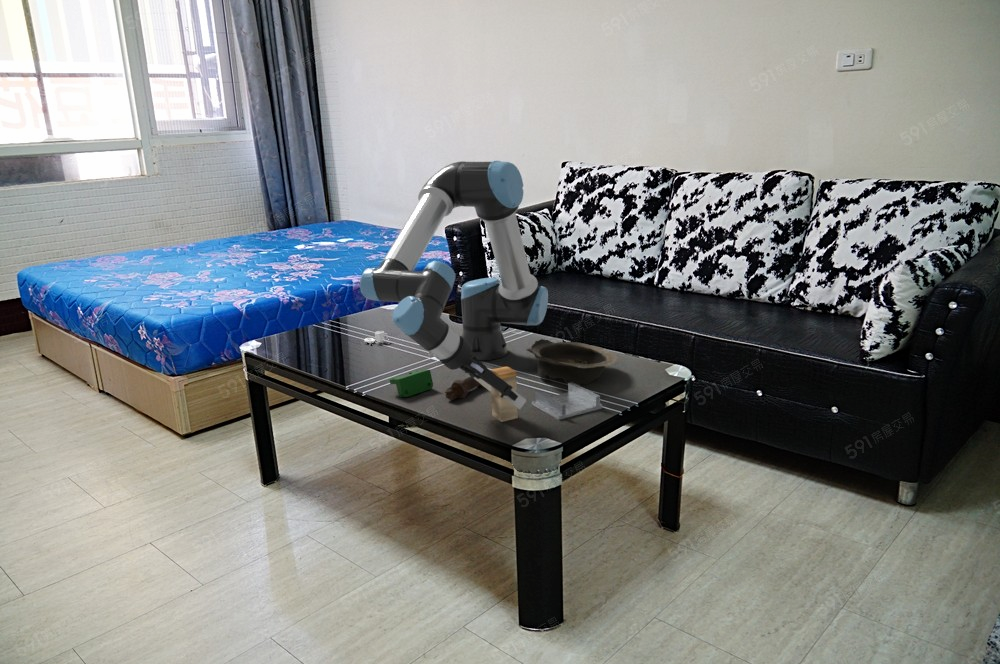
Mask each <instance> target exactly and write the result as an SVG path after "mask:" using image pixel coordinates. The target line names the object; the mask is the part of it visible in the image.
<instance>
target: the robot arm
mask: <svg viewBox="0 0 1000 664" xmlns="http://www.w3.org/2000/svg"><path fill="white" fill-rule="evenodd" d="M523 187H524V182H523V177H522V174H521V172H520V170H519V168H518V167H517V166H516V164H514V163H511V162H510V161H501V160H493V161H457V162H452V163H450V164H447V165H445V166H444V167H443V168H441V169H440V170H438V171H437V172H435V173H434V174H433V175H432V176H431V177H430V178H429V179H428V180H427V181H426V182H425V184H424V185H423V186H422V188H421V190H420V191H419V193H418V198H417V199H418V202H417V204H416V206H414V209H413V211H412V212H411V213H410V215H409V217H408V218H407V220H406V222H405V223H404V225H403V226H402V228H401V230H400V231H399V234H398V235H397V236H396V238H395V240H394V242H393V243H392V245H391V247H390V248H389V250H388V251H387V252H386V255H385V256H384V258H383V260H382V261H381V263H380V264H379V266H378V267H377V268H375V267H372V268H367V269H365V270H364V271H363V272H362V274H361V276H360V280H359V289H360V292H361V295H362V296H363V297H364V298H365V299H367V300H370V301H377V302H388V303H389V302H390V303H391V302H392V303H397V306H396V307H395V308H394V309H393V311H392V316H391V317H392V318H391V319H392V322H393V324H394V325H395V326H396V328H398V329H399V330H400V331H401V332H402V333H403V335H404V334H405V335H406V336H408V337H409V338H410V339H412V340H413V341H414V342H415V343H416V344H418V345H419V346H420V347H422V348H423V349H425V350H426V351H427V352H428V353H427V355H428V357H430V358H431V357H432V356H433V357H435V359H437V360H439V362H441V364H442V365H444V366H445V367H446V368H447V369H449V370H451V371H453V370H457V369H460V370H462V371H463V372H464V373H466V374H468V375H469V377H470V376H472V377H473V376H474V379H475V380H476V381H478V382H479V383H480V384H481V385H483V386H484V388H486V390H488V391H489V392H490V393H492V391H491V386H492V387H493V388H494V389H496V390H497V391H499V392H500V393H501V396H500V397H501V398H503V397H505V398H506V399H507V400H508V401H510V402H511V403H512V404H513V405H514V406H516V407H517V410H518V409H519V410H521V409H522V408H523V406H524V404H525V403H526V402H527V399H526V398H525V397H523V396H522V395H521V394H520V393H519V392H516V391H515V390H514V389H513V388H512V386H511V385H509V384H507V383H506V382H505V381H503V380H502V379H501V378H499V377H498V376H497V375H496V374H494V373H493V372H492V371H491V369H489V368H488V367H487V366H486V365H485V364H483V363H482V362H481V361H490V360H491V361H492V360H497V359H500V358H503V357H505V356H506V355H507V354H508V345H507V341H506V339H505V337H504V334H503V331H502V327H501V324H509V325H510V324H511V325H519V326H520V325H521V326H539V325H541V323H542V322H543V321H544V319H545V316H546V313H547V311H548V310H547V309H548V304H549V291H548V288H547V287H545V286H542V285H540V286H539V282H538V280H537V278H536V277H535V276H534V275H533V274H531V271H530V267H529V263H528V259H527V255H526V251H525V247H524V243H523V238H522V234H521V230H520V227H519V223H518V219H517V214H516V213H517V211H518V210H519V208H520V205H521V203H522V201H523V199H524V188H523ZM459 207H465V208H466V207H468V208H469V207H470V208H471V207H473V208H474V210H475V212H476V215H477V218H478V219H480V220H481V221H484V223H485V227H486V230H487V234H488V237H489V241H490V244H491V245H490V246H491V248H492V252H493V255H494V259H495V263H496V266H497V270H498V274H499V278H500V280H499V278H497V277H484V278H479V279H474V280H470V281H466V282H465V283H464V284H463V285H462V286H461V291H460V292H461V293H460V294H461V296H460V300H461V314H462V334H461V335H460V333H458V332H457V331H456V329H454V328H453V327H451V326H450V325H449V324H448V323H446V322H445V321H444V320H443V318H441V317H442V314H443V312H444V310H445V306H446V304H447V302H448V300H449V297H450V295H451V293H452V291H453V289H454V288H453V287H454V284H455V281H456V273H455V271H454V269H453V268H452V267H451V266H450V265H448V264H447V263H445V262H443V261H438V260H433V261H430V262H428V263H427V264H426V266H425V267H424V268H423V270H415V269H416V268H417V265H418V263H419V261H420V260H421V258H422V256H423V255H424V252H425V251H426V249H427V248H428V246H429V244H430V242H431V240H432V239H433V237H434V235H435V234H436V231H437V230H438V228H439V226H440V225H441V222H442V221H443V219H444V217H447V216H449V215H451V213H452V212H453V210H454V209H455V208H459ZM500 281H501V282H500ZM483 386H482V387H483Z"/></svg>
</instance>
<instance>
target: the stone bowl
mask: <svg viewBox="0 0 1000 664" xmlns="http://www.w3.org/2000/svg"><path fill="white" fill-rule="evenodd" d="M526 352H529V353H531V354H532V355H533V356H534V357H535V358H536V359H537V360H538V363H537V375H538V377H539V378H541V379H543V380H554V379H558V378H559V379H563V381H564V382H565V383H566V384H567V385H568V383H571V382H573V383H575V384H577V385H579V386H580V385H582V384H583V385H586V384H590V383H592V382H593V381H596V380H598V379H600V377H601V375H602V374H603V372H604V370H605V368H606V367H608V366H609V365H613V364H616V363H617V359H618V357H617V355H616V354H615V353H614V352H613V351H610V350H608V349H605V348H603V347H600V346H596V345H590V344H587V343H585V342H584V343H582V342H575V341H567V342H566V341H565V342H562V341H561V342H553V341H551V340H549V339H543V338H541V339H539V340H535V342H534V343H532V345H531V348H530V347H529V348H527V349H526Z"/></svg>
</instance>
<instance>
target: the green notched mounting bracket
mask: <svg viewBox="0 0 1000 664" xmlns="http://www.w3.org/2000/svg"><path fill="white" fill-rule="evenodd" d="M388 380H389V384H390V385H395V386H396V390H397V394H398V396H399V397H400V396H401V397H400V398H409V397H412V396H414V395H417V394H420V393H423V392H426V391H428V390H431V389H433V387H434V382H433V378H432V373H431V369H418V370H413V371H409V373H408V374H407V375H401V376H394V377H392V378H391V377H390V378H389V379H388Z"/></svg>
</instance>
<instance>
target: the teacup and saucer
mask: <svg viewBox="0 0 1000 664" xmlns="http://www.w3.org/2000/svg"><path fill="white" fill-rule="evenodd" d="M385 335H386V338H385ZM374 336H375V338H373V337H366V338H364V340H363V341H364V343H365V342H368V343H371V342H374V341H375V340H376V341H377V342H382V341H385V342H387V341H386V340H384V339H388V338H389V337H388V333H386V332H385V331H384V330H377V331H375V332H374ZM377 342H376V343H377Z"/></svg>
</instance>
